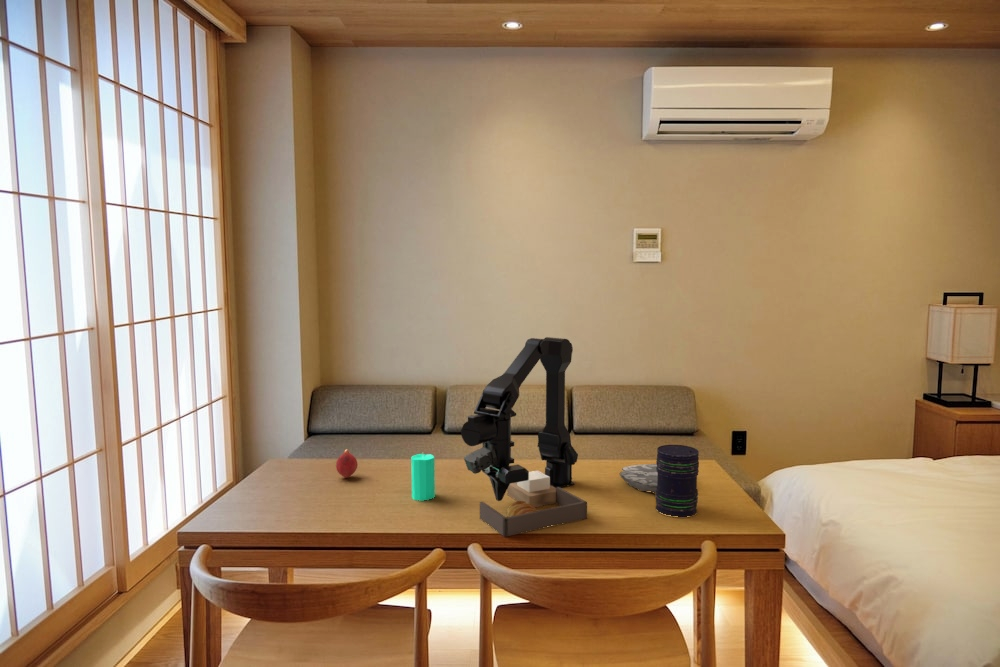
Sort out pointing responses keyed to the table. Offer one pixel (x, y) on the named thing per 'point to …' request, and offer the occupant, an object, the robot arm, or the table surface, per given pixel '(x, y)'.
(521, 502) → the pastry
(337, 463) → the onion
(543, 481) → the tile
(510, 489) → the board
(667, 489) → the storage jar
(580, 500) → the frame
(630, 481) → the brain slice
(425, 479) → the candle
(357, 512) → the table surface
